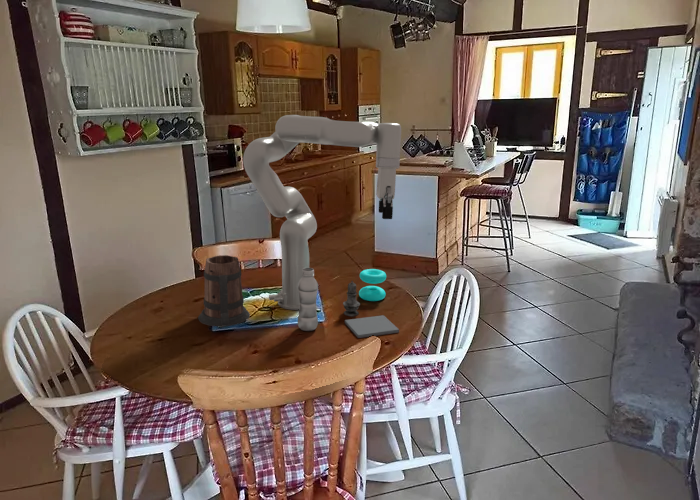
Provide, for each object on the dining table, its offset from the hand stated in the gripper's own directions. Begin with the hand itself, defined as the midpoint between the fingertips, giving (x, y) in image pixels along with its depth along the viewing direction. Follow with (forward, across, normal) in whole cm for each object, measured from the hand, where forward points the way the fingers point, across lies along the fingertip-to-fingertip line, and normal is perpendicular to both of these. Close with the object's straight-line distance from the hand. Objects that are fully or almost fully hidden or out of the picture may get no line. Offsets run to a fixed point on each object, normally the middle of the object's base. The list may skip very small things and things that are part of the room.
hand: (385, 215), depth 170 cm
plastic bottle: (+35, +12, -25) cm, 45 cm away
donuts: (+35, -16, -1) cm, 39 cm away
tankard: (+35, +5, -52) cm, 63 cm away
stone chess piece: (+35, -1, -10) cm, 36 cm away
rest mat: (+35, +11, -4) cm, 37 cm away
